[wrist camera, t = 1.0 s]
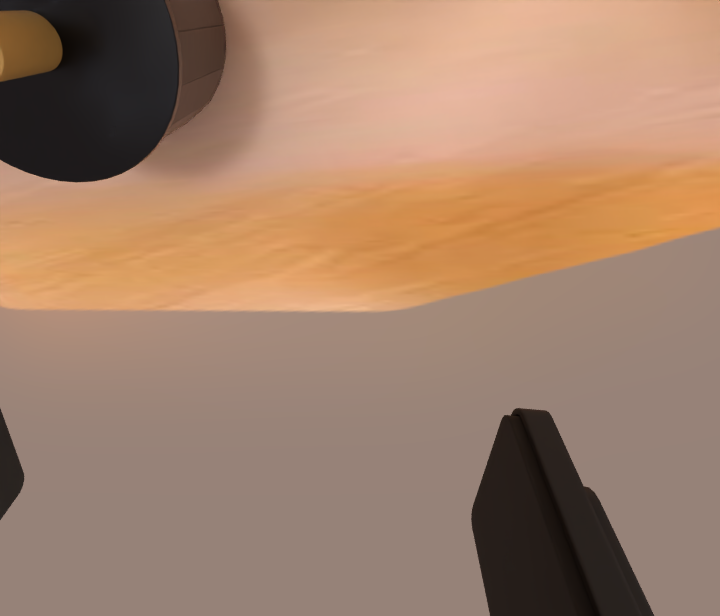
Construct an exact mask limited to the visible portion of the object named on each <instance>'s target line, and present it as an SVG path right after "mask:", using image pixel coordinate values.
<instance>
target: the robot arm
mask: <svg viewBox="0 0 720 616" xmlns="http://www.w3.org/2000/svg"><path fill="white" fill-rule="evenodd" d="M23 482H24V473H23V470H22V467H21V464H20V462H19V459H18V456H17V453H16V450H15V448H14V445H13V442H12V439H11V437H10V434H9V431H8V428H7V426H6V423H5V420H4V418H3V415H2V412H1V409H0V520H1V518H2V517H3V515H4V514H5V513H6V511H7V510H8V508H9V507H10V506H11V504H12V503H13V502H14V500H15V499H16V497H17V496H18V494H19V493H20V491H21V489H22V486H23ZM471 519H472V529H473V533H474V539H475V544H476V548H477V553H478V558H479V563H480V568H481V573H482V578H483V583H484V587H485V593H486V597H487V602H488V607H489V612H490V616H654V614H653V612H652V610H651V608H650V606H649V604H648V602H647V600H646V598H645V595H644V593H643V591H642V589H641V587H640V585H639V583H638V581H637V579H636V576H635V574H634V572H633V570H632V568H631V566H630V564H629V562H628V560H627V557H626V555H625V553H624V551H623V549H622V547H621V545H620V543H619V541H618V539H617V536H616V534H615V532H614V530H613V528H612V526H611V524H610V522H609V520H608V518H607V515H606V513H605V511H604V509H603V507H602V505H601V503H600V501H599V499H598V498H597V496H596V494H595V493H594V492H593V491H592V490H591V489H590V488H588V487H584V486H583V484H582V482H581V480H580V477H579V475H578V473H577V471H576V469H575V467H574V464H573V462H572V460H571V458H570V456H569V453H568V451H567V449H566V447H565V445H564V443H563V440H562V438H561V436H560V434H559V431H558V429H557V427H556V425H555V423H554V421H553V418H552V416H551V415H550V413H549V412H547V411H544V410H532V409H521V408H517V409H515V410H514V411H513V412H512V414H511V416H509V415H504V417H503V418H502V420H501V423H500V426H499V429H498V432H497V435H496V438H495V441H494V444H493V448H492V450H491V454H490V456H489V459H488V462H487V466H486V469H485V471H484V474H483V477H482V480H481V484H480V486H479V490H478V493H477V496H476V498H475V502H474V505H473V509H472V518H471Z"/></svg>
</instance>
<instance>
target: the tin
mask: <svg viewBox="0 0 720 616" xmlns="http://www.w3.org/2000/svg"><path fill="white" fill-rule="evenodd" d="M169 3H170V6H171V9H172V12H173V15H174V18H175V21H176V25H177V30H178V34H179V39H180V44H181V54H182V87H181V94H180V100H179V104H178V107H177V111H176V114H175V117H174V120H173V122H172V124H171V126H170V128H169V131H168V132H167V134H166V135H165V137H166V136H168V135H169V134H171V133H172V132H174V131H175V130H177V129H178V128H180V127H181V126H183V125H185V124H186V123H187V122H188V121H190V120H191V119H192V118H193V117H194V116H195V115H196V114H197V113H199V112H200V111H201V110H202V109H203V108H204V107H205V106H206V105H207V104H208V103H209V102H210V101H211V99H212V96H213V95H214V93H215V91H216V89H217V87H218V85H219V82H220V79H221V76H222V73H223V69H224V63H225V54H226V38H225V29H224V23H223V17H222V14H221V10H220V7H219V3H218V1H217V0H169Z"/></svg>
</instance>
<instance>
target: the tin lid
mask: <svg viewBox="0 0 720 616" xmlns="http://www.w3.org/2000/svg"><path fill="white" fill-rule="evenodd" d="M181 87H182V54H181V44H180V39H179V34H178V30H177V25H176V21H175V18H174V15H173V12H172V9H171V6H170V3H169V0H0V160H2V161H3V162H5V163H7V164H9V165H11V166H13V167H16V168H18V169H20V170H23V171H25V172H27V173H31V174H34V175H37V176H40V177H43V178H48V179H53V180H58V181H67V182H92V181H98V180H103V179H108V178H111V177H114V176H116V175H119V174H122V173H124V172H126V171H127V170H129V169H131V168H133V167H135V166H136V165H138V164H139V163H140V162H142V161H143V160H144V159H145V158H147V157H148V156H149V155H150V154H151V153H152V152H153V151H154V150H155V149H156V148H157V147H158V146H159V144H160V143H161V141H162V140H163V138H164V137H165V135H166V134H167V132H168V131H169V128H170V126H171V124H172V122H173V120H174V117H175V114H176V111H177V107H178V104H179V100H180V94H181Z"/></svg>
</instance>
